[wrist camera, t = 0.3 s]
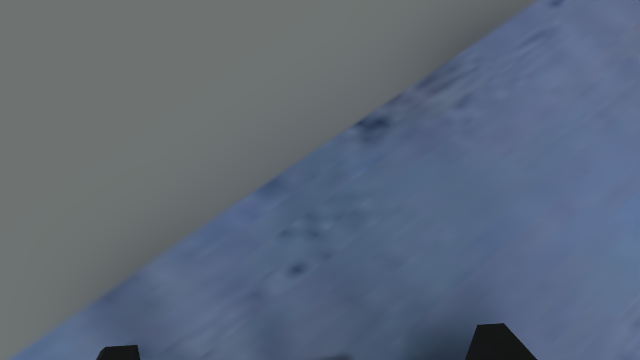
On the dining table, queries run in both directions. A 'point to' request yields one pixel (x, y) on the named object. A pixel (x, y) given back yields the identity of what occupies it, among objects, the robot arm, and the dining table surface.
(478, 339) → the robot arm
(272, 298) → the dining table surface
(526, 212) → the dining table surface
